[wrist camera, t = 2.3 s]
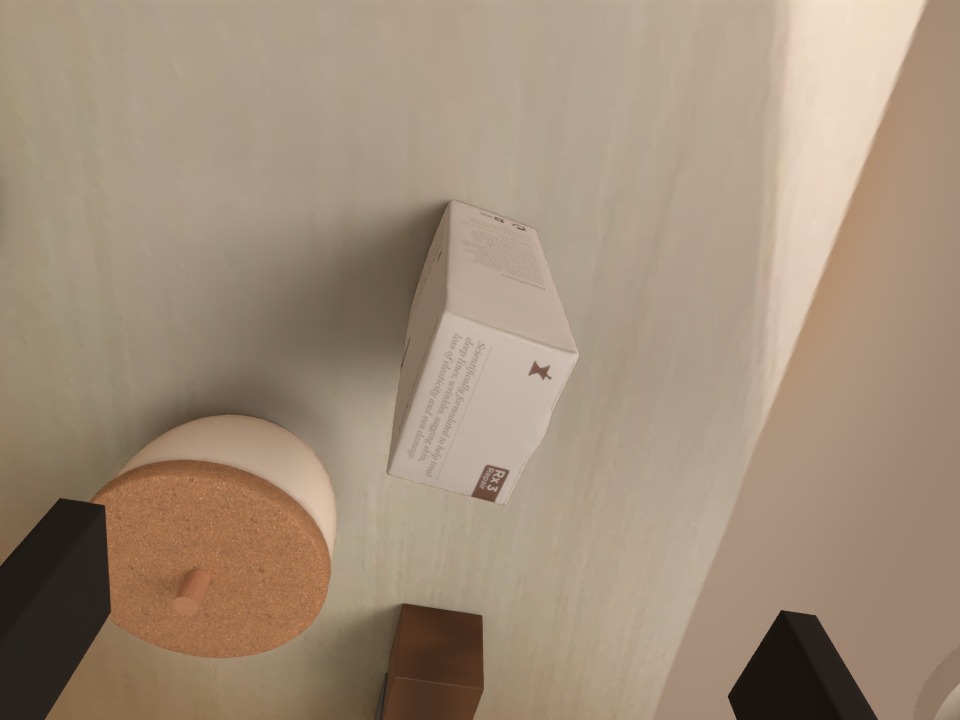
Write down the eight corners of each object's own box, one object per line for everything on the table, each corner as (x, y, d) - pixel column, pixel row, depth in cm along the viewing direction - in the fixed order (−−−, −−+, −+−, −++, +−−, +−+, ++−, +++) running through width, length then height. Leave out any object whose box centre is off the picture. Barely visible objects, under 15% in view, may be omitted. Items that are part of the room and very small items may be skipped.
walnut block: (482, 615, 39) (484, 689, 35) (465, 668, 42) (464, 743, 37) (403, 603, 39) (394, 676, 34) (389, 657, 41) (379, 733, 36)
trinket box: (361, 542, 36) (329, 692, 28) (173, 541, 36) (85, 692, 28) (348, 379, 32) (304, 502, 23) (130, 376, 31) (7, 500, 23)
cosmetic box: (447, 195, 27) (432, 298, 17) (542, 229, 28) (588, 348, 17) (406, 318, 30) (371, 476, 19) (494, 346, 31) (508, 513, 20)
